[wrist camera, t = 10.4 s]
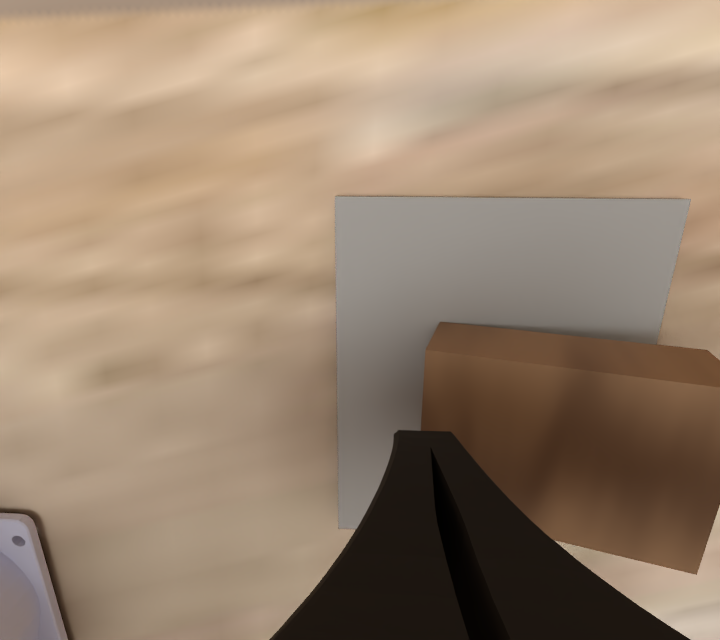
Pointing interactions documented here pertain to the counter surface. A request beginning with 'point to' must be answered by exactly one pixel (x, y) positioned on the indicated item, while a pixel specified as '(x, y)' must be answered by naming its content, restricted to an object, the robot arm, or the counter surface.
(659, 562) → the walnut slab
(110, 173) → the counter surface
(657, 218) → the grey mat
